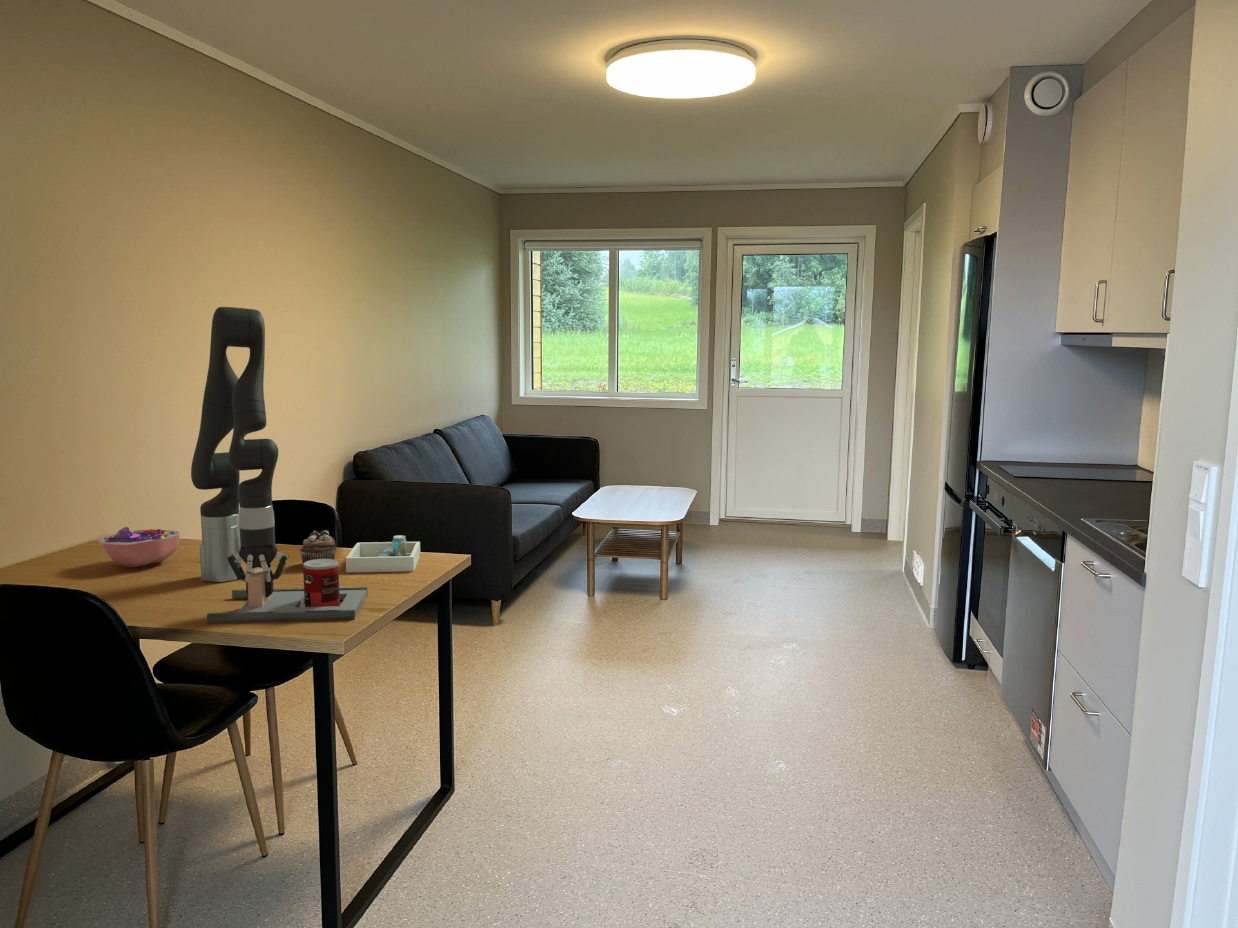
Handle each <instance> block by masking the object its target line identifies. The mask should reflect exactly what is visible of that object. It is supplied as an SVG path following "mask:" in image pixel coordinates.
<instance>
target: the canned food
mask: <svg viewBox="0 0 1238 928" xmlns="http://www.w3.org/2000/svg"><path fill="white" fill-rule="evenodd" d="M302 565H303V566H302V574H303V576H302V577H303V589H304V599H305V601H304V607H326V606H340V605H341V604H340V598H339V588H340V572H339V570H340V569H339V561H338V560H336V559H334V560H333V559H315V560H310V561H307V562H305V563H304V564H303V563H302Z"/></svg>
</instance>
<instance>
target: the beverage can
mask: <svg viewBox="0 0 1238 928" xmlns="http://www.w3.org/2000/svg"><path fill="white" fill-rule="evenodd" d="M392 538H393V539H392V542H393V549H392V548H390V547H387V548H385V549H383V551H382V552H381V553H380V554H379V555H378V556H377V557H394V556H406V542H407V538H406V535H401V534H400V535H399V534H397V535H393V537H392Z"/></svg>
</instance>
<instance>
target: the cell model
mask: <svg viewBox="0 0 1238 928" xmlns="http://www.w3.org/2000/svg"><path fill="white" fill-rule="evenodd" d="M180 536H181V532H180V531H176V530H166V529H161V528H157V529H152V528H151V529H138V530H132V531H130V528H129V526H124V527H122V528H121V529H119V530H118V531H117V532H116V533H115V534H111V535H107V536H104V537H102V538H99V539H98V543H100V545H101V546H102V548H103V550H104V551H105V553H106V554H107V556H108V557H109V558H110V559H111V560H112V562H113V563H114V564H116V565H117V566H121V567H125V568H126V567H127V568H138V567H142V566H145V565H148V564H157V563H161V562H165V560H168V559H169V558H170V557H171V556H172V555H174V553H175V552H176V551H177V549H178V548H179V542H180V538H181V537H180Z"/></svg>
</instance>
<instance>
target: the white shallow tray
mask: <svg viewBox="0 0 1238 928" xmlns="http://www.w3.org/2000/svg"><path fill="white" fill-rule="evenodd" d="M387 547H390V548H392V549H393V541H386V542H385V541H383V542H382V541H381V542H378V541H374V542H372V541H371V542H357V543H356V544H355V545H354V546H353V547H352V549H351V551H350V552H349V553H348V554H347V556H346V557H345V573H385V572H387V573H389V572H390V573H391V572H393V573H394V572H397V573H398V572H414V571H415V570H416V567H417V564H418V562H419V560H420V557H421V541H406V553H411V554H406V556H394V557H378V555H379V554H380V553H381V552H382V551H383V549H385V548H387ZM377 551H378V552H377ZM419 554H420V555H419Z"/></svg>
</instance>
